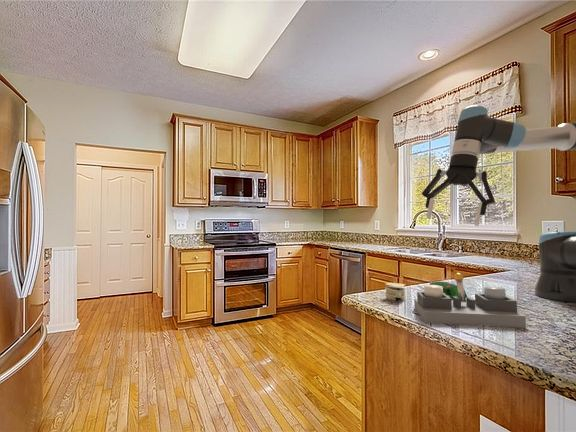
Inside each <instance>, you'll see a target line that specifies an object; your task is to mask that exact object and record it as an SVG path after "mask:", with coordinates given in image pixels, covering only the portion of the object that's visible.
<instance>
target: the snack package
mask: <svg viewBox="0 0 576 432" xmlns="http://www.w3.org/2000/svg"><path fill="white" fill-rule="evenodd" d="M428 285H438V286H442V287H443V293H445V294H446V295H447V296H449V297H450V298H451V299H452V300H453V296H456V297H458V298H459V294H458V288H457V284H453V283H451V282H449V281H432V282H430V283H429V284H428ZM464 293H465V298H466V297H468V295H467V293H466V290H465V289H464Z"/></svg>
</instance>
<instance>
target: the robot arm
mask: <svg viewBox="0 0 576 432" xmlns="http://www.w3.org/2000/svg"><path fill="white" fill-rule="evenodd" d="M488 112H489V111H488V108H486V107H485V106H482V105H470V106H467V107H465V108H463V109H462V110H461V111H460V114H459V117H458V120H457V124H456V125H457V127H456V132H455V137H454V142H453V145H452V151H451V157H450V161H449V166H448V169H447V170H442V169H441V168H438V169H436V173H435V175H434V177H433V178H432V179H431V181H429V183H428V185H426V187H425V188H424V190H423V191H422V192H421V195H422V197H425V198H426V202H425V208H426V209H427V213H426V219H429V220H431V219H432V214H433V209H434V204H435V199H434V198H435V197H436V196H437V195H439V194H440V193H441V192H443V191H444V190H445V189H447V188H448V187H449V186H451V185H453V186H462V187H465V186H469V188H471V190H472V191H473V193H474V194H475V196H476V197H477V198H478V200H479V201H480V202H481V203H478V206H477V212H476V216H475V221H474V226H475V227H479V225H480V221H481V220H480V219H481V216H486V213H487V207H488V205H494V204H495V203H496V200H495V198H494V195H493V193H492V192H493V191H492V190H491V187H490V184H489V183H488V182H489V181H488V172H487V171H485V170H484V171H482V172H481V171H480V172H477V166H478V162H479V158H478V157H479V156H480V155H487V154H495V153H496V154H497V153H499V154H500V153H510V152H525V151H526V152H527V151H536V150H537V151H539V150H549V149H551V150H552V149H556V150H558V151H561V152H562V151H576V121H573V122H572V121H571V122H565V123H561V124H559V125H558V126H549V127H537V128H526V127H525V125H523V124H520V123H518V122H514V121H510V120H509V121H508V120H504V119H498V118H494V117H491V116H488V114H489V113H488ZM445 175H446V177H447V178H446V179H444V181H443V182H442V183H441V184H439V185H438V186H437V187H436V185H437V184H438V183H439V181H440V180H441V178H443V177H444V176H445ZM476 178H478V179H479V180H481V181H482V185H483V187H484V190H485V193H486V195H487V197H488V199H486V198H485V196H484V195H483V194H482V192H481V191H480V190H479V188H477V186H476V185H475V183H474V182H473V180H475V179H476ZM538 241H539V243H538V252H539V268H540V269H539V271H540V274H539V275H538V276H539V277H538V279H537V282H536V284H535V287H534V295H535V296H538V297H541V298H544V299H547V300H548V299H549V300H555V301H561V302H571V303H576V230H574V231H573V230H572V231H571V230H570V231H553V232H552V231H551V232H545V233H542V234H541V235H540V236H539V240H538Z"/></svg>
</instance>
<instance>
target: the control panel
mask: <svg viewBox="0 0 576 432" xmlns="http://www.w3.org/2000/svg"><path fill="white" fill-rule="evenodd" d="M416 295H417V297H416V298H414V299H413V300H414V301H413V302H414V303H413V305H414V307H413V308H414V310H415V311H416V313H417V314H418V315H419V317H420V318H421V319H422V320H423V322H424V324H442V325H443V324H444V325H462V326H463V325H464V326H477V325H489V326H488V327H497V326H502V328H520V329H527V322H526V321H527V320H526V317H527V316H526V315H524V314H522V313H521V312H518V301H517V300H515V299H513V298H511V297H509V296H508V295H506V300H494V299H486V298H485V297H484V293H474V298H473V297H470V296H467V297H466V302H461V299H459V298H458V297H456V296H453V300H452V299H451V298H450V297H449V296H447V295H446V294H445V293H443V298H436V297H425V296H424V291H417V292H416Z"/></svg>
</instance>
